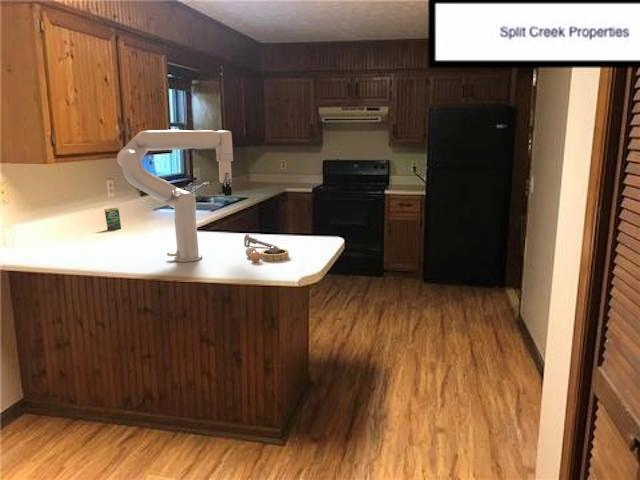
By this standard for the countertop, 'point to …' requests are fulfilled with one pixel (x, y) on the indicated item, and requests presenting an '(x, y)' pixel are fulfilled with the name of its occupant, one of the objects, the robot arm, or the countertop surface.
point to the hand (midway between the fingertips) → (227, 194)
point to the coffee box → (112, 218)
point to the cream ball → (250, 251)
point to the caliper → (255, 241)
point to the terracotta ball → (255, 256)
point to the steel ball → (273, 250)
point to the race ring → (275, 255)
